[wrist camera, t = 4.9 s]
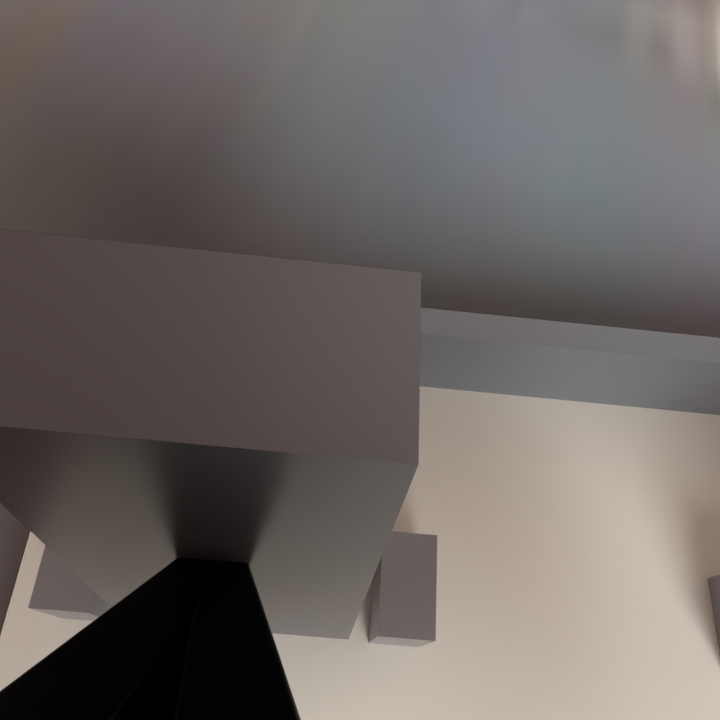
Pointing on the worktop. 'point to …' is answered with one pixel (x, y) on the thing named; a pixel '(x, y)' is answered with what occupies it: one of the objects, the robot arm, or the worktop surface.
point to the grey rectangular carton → (209, 415)
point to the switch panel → (513, 540)
